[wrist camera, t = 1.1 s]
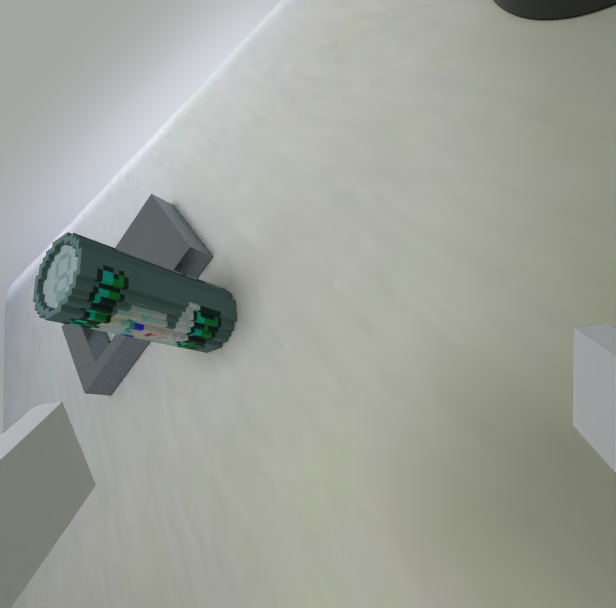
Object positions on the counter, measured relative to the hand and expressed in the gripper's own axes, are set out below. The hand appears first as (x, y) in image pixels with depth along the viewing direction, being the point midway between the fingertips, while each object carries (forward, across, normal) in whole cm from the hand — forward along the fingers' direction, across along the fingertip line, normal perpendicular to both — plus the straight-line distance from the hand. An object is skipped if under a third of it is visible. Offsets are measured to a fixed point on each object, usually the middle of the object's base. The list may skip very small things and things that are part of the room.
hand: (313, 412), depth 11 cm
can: (+30, -12, -7) cm, 33 cm away
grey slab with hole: (+37, -22, -6) cm, 44 cm away
